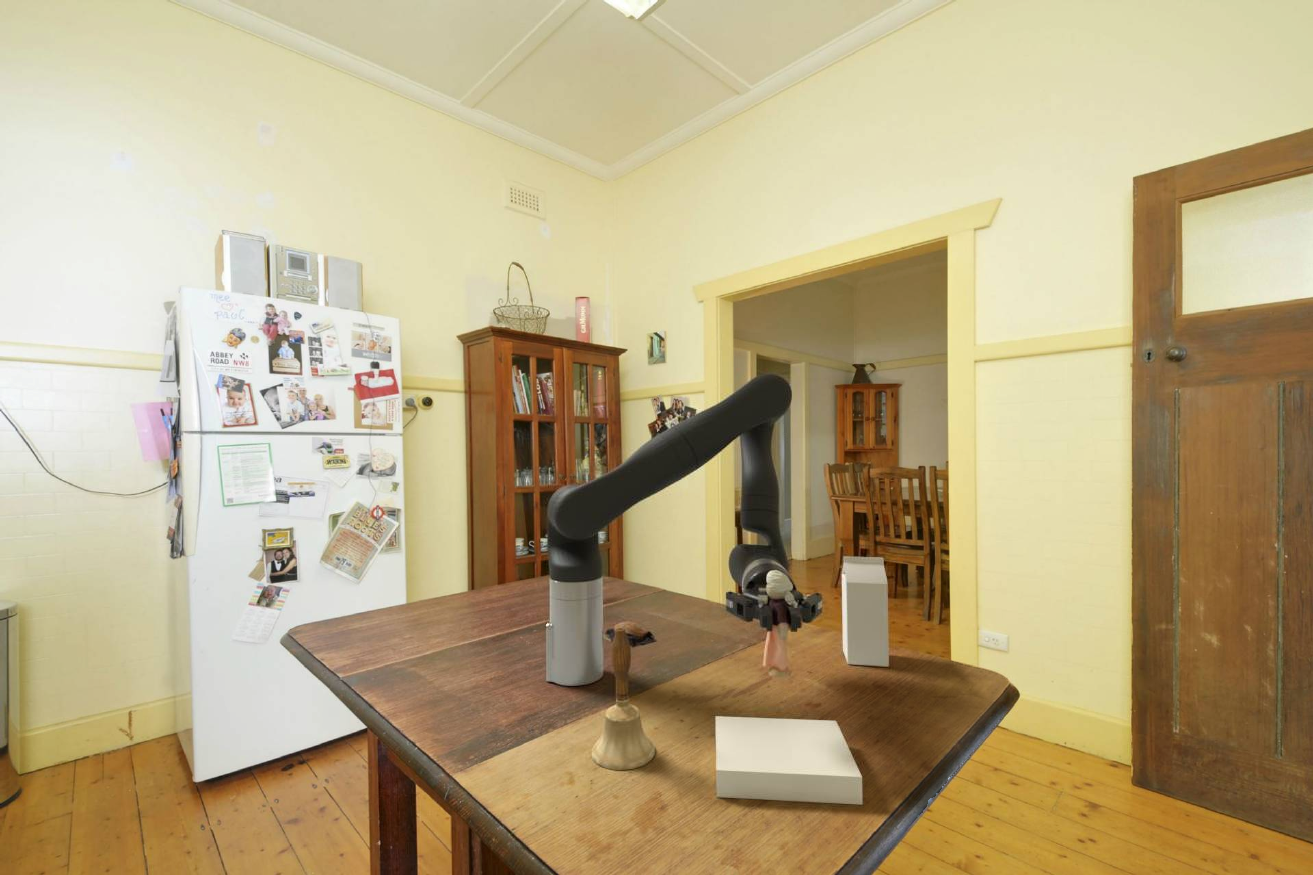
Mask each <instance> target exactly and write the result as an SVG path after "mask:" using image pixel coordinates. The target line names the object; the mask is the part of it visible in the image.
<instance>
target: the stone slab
mask: <svg viewBox="0 0 1313 875" xmlns="http://www.w3.org/2000/svg"><path fill="white" fill-rule="evenodd" d="M715 771H716V772H715V776H716V777H715V778H716V779H715V780H716V782H715V784H716V786H715V787H716V797H717V798H729V799H730V798H732V799H747V800H748V799H749V800H750V799H751V800H767V801H784V802H785V801H786V802H787V801H788V802H802V803H803V802H805V803H809V802H810V803H825V804H826V803H827V804H828V803H829V804H844V805H863V804H864V803H863V776H862V774H861V771H860V769H859V768H858V765H857V763H856V761H855V759H854V757H853V755H852V752H851V750H850V747H849V746H848V743H847V742H846V739H845V737H844V735H843V733H842V730H841V728H840V726H839V724H838V722H837V720H827V719H826V720H825V719H823V720H822V719H821V720H819V719H802V718H801V719H800V718H799V719H797V718H796V719H795V718H775V717H774V718H772V717H771V718H770V717H768V718H767V717H745V716H744V717H743V716H720V715H719V716H718V715H717V716H716V715H715Z"/></svg>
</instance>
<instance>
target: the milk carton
mask: <svg viewBox="0 0 1313 875" xmlns="http://www.w3.org/2000/svg"><path fill="white" fill-rule="evenodd" d="M884 559H885V558H884V557H877V556H875V557H871V556H870V557H869V556H865V557H864V556H846V555H845V556H843V564H842V568H841V569H842V570H841V607H842V608H841V609H842V610H841V611H842V612H841V613H842V615H841V616H842V617H841V618H842V621H841V622H842V651H843V654H844V656H845V659H846V663H847V664H848V665H856V666H857V665H858V666H871V667H872V666H873V667H885V668H886V667H889V666H890V658H889V656H890V655H889V654H890V652H889V651H890V650H889V604H888V603H889V600H888V599H889V598H888V597H889V596H888V593H889V589H888V583H889V582H888V578H887V574H886V568H885V561H884Z"/></svg>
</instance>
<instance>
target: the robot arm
mask: <svg viewBox="0 0 1313 875" xmlns="http://www.w3.org/2000/svg"><path fill="white" fill-rule="evenodd" d="M792 400H793V392H792V386H791V385H790V383H789V382H788V380H786V379H785V378H784V377H782V376H780V375H778V374H773V373H763V374H758V375H757V376H755V377H753V378H751V379H750V380H749V381H748V382H746V383H745V384H744V385H742V386H741V387H740V388H739V389H736V391H735V392H733V393H731V394H730V395H728V396H727V397H726V398H725V399H723V400H721V401H720V402H717V403H716V404H715V405H713V406H710V407H708V408H706V409H705V410H702V411H699V412H697V413H696V414H694V415H692V416H690V417H688V418H686V419H684V420H682V421H680V422H679V423H676V424H675V425H673V426H671V427H669V428H667V429H666V430H664V431H662V432H660V433H659V434H657V435H655V436H654V437H652V438H651V439H649V440H648V441H647V442H645V443H644V444H643V445H641V446H640V447H638V449H637V450H635V451H634V452H633V453H632V454H631V455H630V456H629V457H628V458H627V459H626V460H624V461H623V462H622V463H621V464H619V465H618V466H617V467H615V468H614V469H612V470H610V471H608V472H607V473H604V474H603V475H600V476H598V477H596V478H594V479H592V480H590V481H588V482H585V483H583V484H566V485H563V486H562V487H560V488H558V489H557V490H556V491H555V492H554V493H553V494H552V496H551V497H550V498H549V500H548V504H547V510H546V526H547V527H546V530H547V531H546V532H547V538H546V539H547V560H548V568H549V622H548V623H547V624H546V625H545V626H546V627H545V639H546V640H545V646H546V647H545V654H546V655H545V665H546V666H545V667H546V668H545V674H546V676H545V681H546V682H552V683H555V684H557V685H561V686H569V687H570V686H571V687H574V686H575V687H577V686H583V685H584V686H586V685H589V684H592V683H596V682H597V681H599V680H601V678H602V677H603V676H604V638H603V634H604V602H603V601H604V594H603V593H604V592H603V591H604V588H603V586H604V584H603V581H604V580H603V574H604V573H603V572H604V570H603V569H604V567H603V559H602V556H601V552H600V546H599V545H600V544H599V532H601V531H602V530H603V529H604V528H606V527H607V526H608V525H610V524H611V523H613V521H615V520H616V519H618V518H619V517H620V516H621V515H624V513H626V511H628V510H629V509H631V508H632V507H634V506H636V505H637V504H638V503H640V502H642V501H644V500H645V499H648V498H650V497H651V496H654V495H656V494H658V493H660V492H661V491H664V490H665V489H667V488H668V487H670V486H671V485H673V484H676V483H677V482H679V481H682V480H683V479H684V478H686V477H687V476H689V475H691V474H692V473H694V472H696V471H697V470H698V469H700V468H701V467H703V466H704V465H706V464H708V463H709V462H710V461H711V460H712V459H713V458H715V457H716V456H717V455H719V454H720V453H721V452H722V451H723V450H725V449H726V448H727V447H728V446H729V445H730V444H731V443H733V442H734V441H735V440H736V439H738V438H739V440H740V441H739V442H740V454H741V492H740V495H741V496H740V519H739V520H740V521H739V522H740V526H741V528H742V529H743V530H745V531H747V532H750V533H754V534H756V535H759V536H761V537H763V538H764V539H765V540H766V543H767V544H768V545H767V544H766V545H765V544H751V543H742V544H741V543H740V544H738V545H736V546H734V548H732V550H731V551H730V553H729V557H728V568H729V569H728V570H729V573H730V577H731V578H732V580H733V582H735V583H736V585H737V586H739V587H741V591H742V593H736V592H734V591H731V590H729V591H726V592H725V611H726V612H727V613H730V614H731V615H733V616H735V617H737V618H738V619H740V620H742V621H743V622H747V623H752V622H753V621H754V620H757V623H759V626H760V627H761V629H762V628H763V629H764V628H765V632H767V633H768V632H772V631H773V620H772V612H771V609H770V606H769V602H770V600H771V599H772V598H771V597H769V595H768V594H767V591H766V586H767V580H766V579H767V574H768V573H769V572H770V571H773V570H777V571H780V572H782V573H784V574H785V575H786V576H787V577H788V578H789V580H790V581H791V583H792V584H793V589H792V590H791V591H787V593H786V595H785V597H783V599H785V602H786V605H787V612H788V615H789V620H788V628H789V630H790V632H791V633H797V632H798V629H802V626H803V623H804V624H811V623H812V622H813V621H814V620H815V619H817V618H818V617H819V616H820V615H821V614H823V594H822V593H820V592H814V593H812V594H807V597H806V596H804V594H803V593H802V591H798V590H797V587H796V585H795V582H794V581H793V579H792V577H791V576H790V566H789V560H788V555H787V552H786V549H785V546H784V542H783V538H782V533H781V529H780V489H779V481H778V476H777V472H776V469H775V465H774V462H773V461H774V460H773V455H772V443H773V442H772V440H773V433H774V427H775V424H776V422H778V421H779V420H780V419H781V418H782V417H783V416H784V415H785V414H786V413H787V412H788V410H789V409H790V406H791V404H792Z"/></svg>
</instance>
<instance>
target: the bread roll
mask: <svg viewBox="0 0 1313 875" xmlns="http://www.w3.org/2000/svg"><path fill="white" fill-rule="evenodd" d="M617 628H624V629H625V631H626V635H627V638H628V640H629V644H630V648H635V647H636V648H637V647H640V646H643V645H648V644H651V643H653V642H655V641H656V639H655V636H654V634H653V633H652V632H651V630H650V631H649V630H647V631H646V630H645V628H644V627H642V625H641V624H639V623H637V622H634V621H629V620H628V621H627V620H626V621H624V622H623V621H622V622H619V623H617V624H615V625H614V626H613V628H608V629H606V631H605V633H603V639H605V640H607V641H610V642H611V643H613V639H614V636H615V630H616V629H617Z"/></svg>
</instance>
